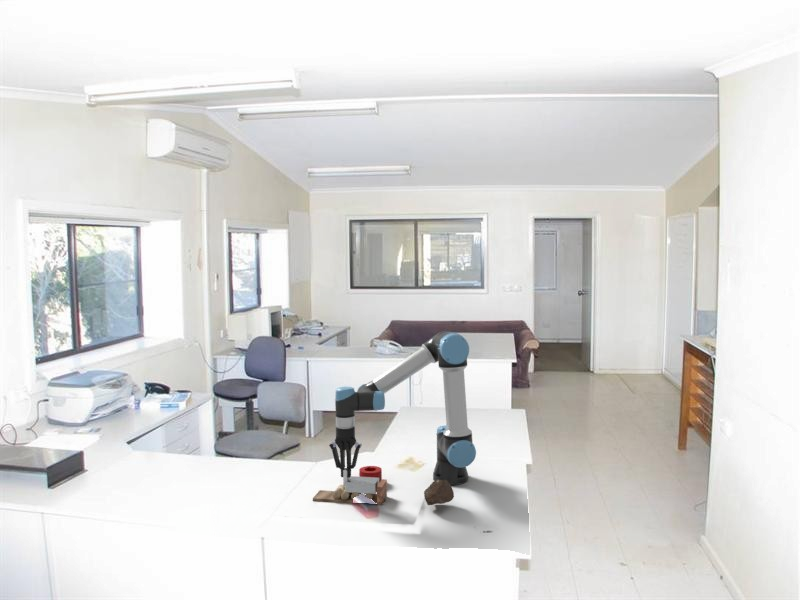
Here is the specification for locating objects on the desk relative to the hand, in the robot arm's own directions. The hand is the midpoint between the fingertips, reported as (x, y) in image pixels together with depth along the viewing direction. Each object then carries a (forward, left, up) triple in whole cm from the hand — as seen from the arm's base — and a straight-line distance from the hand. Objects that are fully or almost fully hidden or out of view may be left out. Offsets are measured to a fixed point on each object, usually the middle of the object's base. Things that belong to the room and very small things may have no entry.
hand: (346, 485), depth 244 cm
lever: (-4, -21, -6) cm, 22 cm away
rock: (-36, +1, -6) cm, 37 cm away
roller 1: (+2, 0, -2) cm, 3 cm away
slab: (-7, 0, -2) cm, 7 cm away
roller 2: (-6, 0, -2) cm, 6 cm away
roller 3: (-9, 0, -3) cm, 9 cm away
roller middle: (-2, 0, -2) cm, 3 cm away
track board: (-2, 0, -5) cm, 6 cm away
